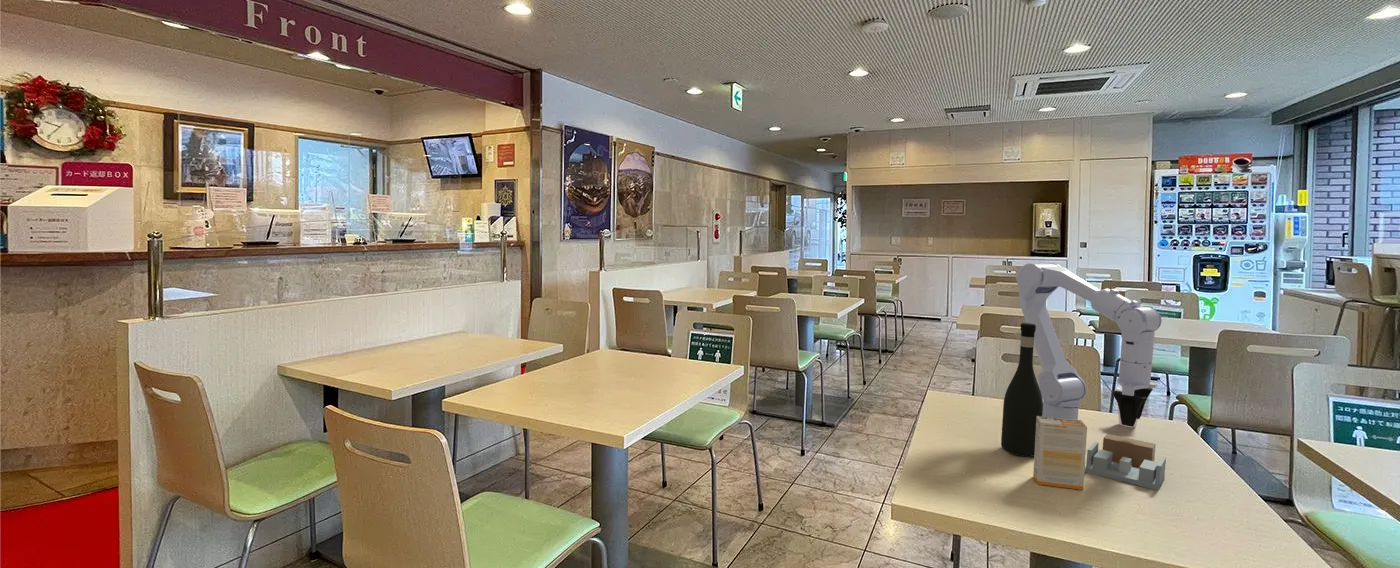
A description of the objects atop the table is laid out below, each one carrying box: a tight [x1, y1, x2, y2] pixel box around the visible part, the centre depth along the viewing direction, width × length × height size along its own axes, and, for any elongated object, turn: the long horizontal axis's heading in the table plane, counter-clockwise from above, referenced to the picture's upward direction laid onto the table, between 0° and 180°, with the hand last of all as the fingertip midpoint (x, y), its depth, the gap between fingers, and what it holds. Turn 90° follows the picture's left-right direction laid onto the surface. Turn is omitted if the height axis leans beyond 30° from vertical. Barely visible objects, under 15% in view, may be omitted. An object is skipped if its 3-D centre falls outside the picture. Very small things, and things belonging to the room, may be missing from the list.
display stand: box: [1084, 441, 1167, 491], centre depth 127 cm, size 13×8×5 cm, turn 46°
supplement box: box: [1032, 416, 1088, 491], centre depth 122 cm, size 8×5×13 cm, turn 71°
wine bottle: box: [1000, 322, 1043, 457], centre depth 139 cm, size 8×8×30 cm
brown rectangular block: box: [1102, 433, 1157, 468], centre depth 135 cm, size 9×4×5 cm, turn 46°
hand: (1130, 421), depth 135 cm, fingers open, 7 cm apart
